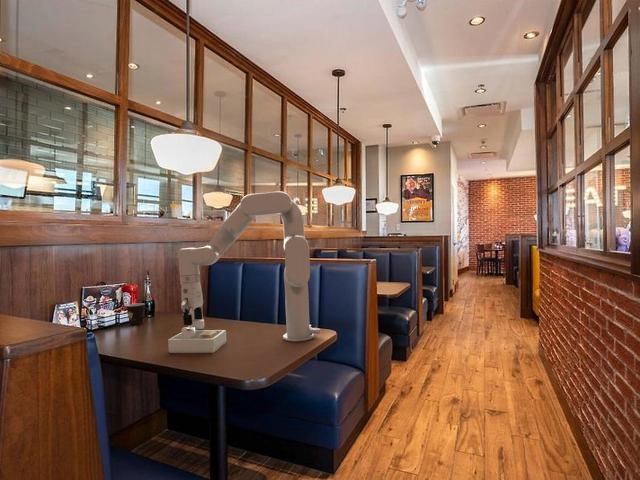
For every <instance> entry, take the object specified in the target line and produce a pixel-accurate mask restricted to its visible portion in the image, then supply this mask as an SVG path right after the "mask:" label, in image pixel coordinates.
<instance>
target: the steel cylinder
mask: <svg viewBox="0 0 640 480" xmlns="http://www.w3.org/2000/svg"><path fill="white" fill-rule="evenodd" d="M181 332H182V339H195V327H190V326H186V327H182V328H181Z"/></svg>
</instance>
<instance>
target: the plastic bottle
mask: <svg viewBox="0 0 640 480" xmlns="http://www.w3.org/2000/svg"><path fill="white" fill-rule="evenodd" d="M194 310H196V309H193V308H192V310H191V314H192V325H188V327H195V330H203V329H204V328H205V319H204V315H203V313H202V317H203V318H202V319H196V320H195V318H194Z"/></svg>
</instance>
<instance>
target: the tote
mask: <svg viewBox="0 0 640 480" xmlns="http://www.w3.org/2000/svg"><path fill="white" fill-rule="evenodd" d="M206 331H217V336H215V337H214V338H212V339H199V335H200V334H201V333H203V332H206ZM167 342H168V354H202V353H203V354H206V353H207V354H209V353H210V354H211V353H213V354H214V353H215V352H216V351H218V350H219V349H220V348H221V347H223V346H224V345H225V344H226V343H227V330H226V329H214V330H213V329H212V330H210V329H207V330H206V329H204V330H203V329H201V330H195V339H182V331H181V332H180V333H178V334H176V335H174V336H172V337H170V338H169V339H167Z"/></svg>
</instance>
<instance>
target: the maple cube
mask: <svg viewBox="0 0 640 480" xmlns="http://www.w3.org/2000/svg"><path fill="white" fill-rule="evenodd" d="M215 336H217V331H206V332H203V333H201V334H200V335H199V339H212V338H214V337H215Z"/></svg>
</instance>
